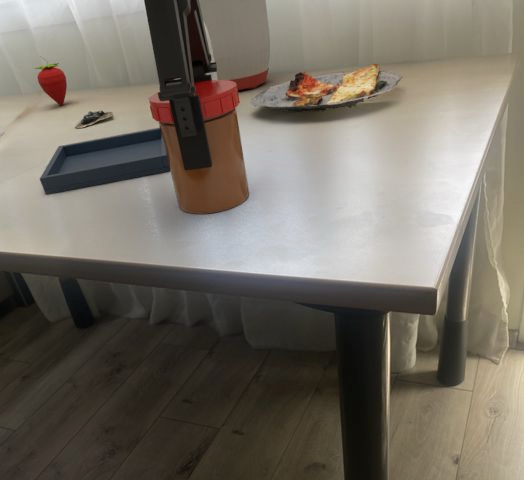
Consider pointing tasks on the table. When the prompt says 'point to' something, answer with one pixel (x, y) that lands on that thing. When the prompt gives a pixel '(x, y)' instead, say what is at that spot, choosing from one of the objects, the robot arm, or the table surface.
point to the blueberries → (93, 118)
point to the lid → (201, 100)
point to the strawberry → (53, 82)
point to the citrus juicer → (238, 39)
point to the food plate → (327, 90)
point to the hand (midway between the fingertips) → (204, 152)
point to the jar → (213, 178)
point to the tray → (105, 161)
